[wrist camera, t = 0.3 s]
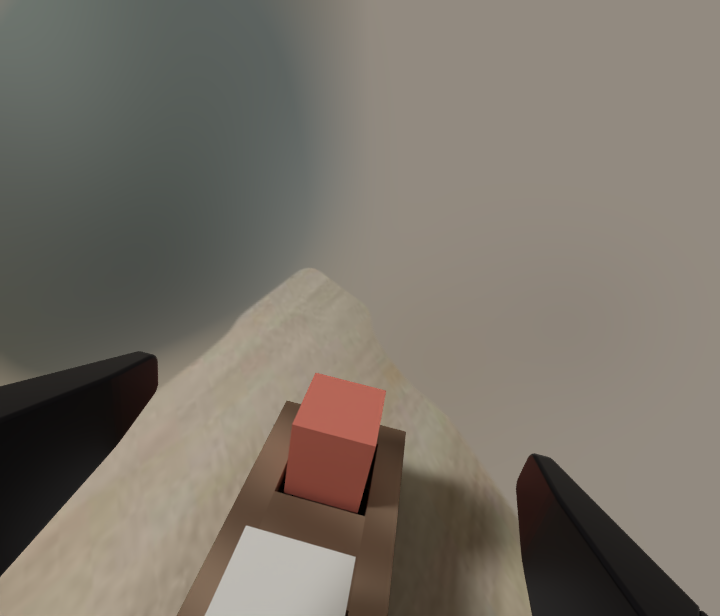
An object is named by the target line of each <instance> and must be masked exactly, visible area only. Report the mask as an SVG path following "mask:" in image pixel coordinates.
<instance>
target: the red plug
mask: <svg viewBox="0 0 720 616" xmlns="http://www.w3.org/2000/svg"><path fill="white" fill-rule="evenodd" d="M385 394H386V391H385V390H381V389H377V388H373V387H369V386H365V385H361V384H358V383H354V382H350V381H346V380H342V379H338V378H334V377H330V376H326V375H322V374H318V373H315V375H314V378H313V380H312V382H311V384H310V386H309V389H308V391H307V393H306V395H305V397H304V399H303V402H302V404H301V406H300V408H299V410H298V413H297V415H296V417H295V419H294V421H293V424H292V429H291V438H290V446H289V454H288V462H287V471H286V479H285V487H284V493H287V494H291V495H294V496H298V497H301V498H305V499H309V500H312V501H316V502H319V503H323V504H326V505H330V506H334V507H337V508H341V509H344V510H348V511H351V512H355V513H358V510H359V506H360V503H361V499H362V495H363V492H364V488H365V484H366V481H367V477H368V473H369V470H370V466H371V463H372V459H373V455H374V452H375V448H376V443H377V438H378V432H379V427H380V421H381V416H382V410H383V405H384V399H385Z"/></svg>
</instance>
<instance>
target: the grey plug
mask: <svg viewBox="0 0 720 616" xmlns="http://www.w3.org/2000/svg"><path fill="white" fill-rule="evenodd" d="M355 558H356V557H354V556H351V555H347V554H344V553H340V552H337V551H333V550H330V549H326V548H323V547H319V546H316V545H312V544H309V543H305V542H302V541H299V540H295V539H292V538H288V537H285V536H281V535H278V534H274V533H271V532H267V531H264V530H260V529H257V528H253V527H250V526H245V529H244V531H243V533H242V535H241V537H240V540H239V542H238V544H237V546H236V548H235V550H234V553H233V555H232V557H231V559H230V561H229V564H228V566H227V568H226V570H225V572H224V575H223V577H222V579H221V581H220V583H219V586H218V588H217V590H216V592H215V594H214V596H213V599H212V601H211V603H210V605H209V607H208V610H207V612H206V614H205V616H345V613H346V608H347V602H348V597H349V591H350V586H351V580H352V575H353V569H354V564H355Z"/></svg>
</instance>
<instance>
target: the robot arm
mask: <svg viewBox="0 0 720 616" xmlns="http://www.w3.org/2000/svg"><path fill="white" fill-rule="evenodd" d="M157 386H158V361H157V358H156V356H155V355H153V354H149V353H145V352H139V351H138V352H134V353H130V354H126V355H122V356H118V357H114V358H110V359H106V360H102V361H98V362H94V363H90V364H87V365H82V366H79V367H75V368H71V369H67V370H63V371H59V372H55V373H51V374H47V375H43V376H40V377H36V378H32V379H28V380H24V381H20V382H16V383H12V384H8V385H4V386H0V576H1V575H2V574H3V573H4V572H5V571H6V570H7V569H8V567H9V566H10V565H11V564H12V563H13V562H14V561H15V560H16V558H17V557H18V556H19V555H20V554H21V553H22V552H23V551H24V549H25V548H26V547H27V546H28V545H29V544H30V543H31V542H32V540H33V539H34V538H35V537H36V536H37V535H38V534H39V533H40V531H41V530H42V529H43V528H44V527H45V526H46V525H47V524H48V522H49V521H50V520H51V519H52V518H53V517H54V516H55V515H56V513H57V512H58V511H59V510H60V509H61V508H62V507H63V506H64V504H65V503H66V502H67V501H68V500H69V499H70V498H71V497H72V495H73V494H74V493H75V492H76V491H77V490H78V489H79V488H80V486H81V485H82V484H83V483H84V482H85V481H86V480H87V479H88V477H89V476H90V475H91V474H92V473H93V472H94V471H95V470H96V468H97V467H98V466H99V465H100V464H101V463H102V462H103V460H104V459H105V458H106V457H107V456H108V455H109V454H110V453H111V451H112V450H113V449H114V448H115V447H116V445H117V444H118V443H119V442H120V440H121V439H122V438H123V436H124V435H125V434H126V432H127V431H128V430H129V428H130V427H131V425H132V424H133V423H134V421H135V420H136V418H137V417H138V416H139V414H140V413H141V412H142V410H143V409H144V407H145V406H146V405H147V403H148V402H149V401H150V399H151V398H152V396H153V395H154V394H155V392H156V390H157ZM516 494H517V507H518V520H519V532H520V545H521V555H522V562H523V568H524V574H525V579H526V585H527V590H528V595H529V601H530V606H531V612H532V616H708V615H707V614H706V613H705V612H703V611H700V609H699V606H698V605H697V604H696V603H695V602H694V601H693V600H692V599H690V597H689V596H688V595H687V594H686V593H685V592H684V591H683V590H682V589H681V588H680V587H679V586H678V585H677V584H676V583H675V582H674V581H673V580H672V579H671V578H670V577H669V576H668V575H667V574H666V573H665V572H664V571H663V570H662V569H661V568H660V567H659V566H658V565H657V564H656V563H655V562H654V561H653V560H652V559H651V558H650V557H649V556H648V555H647V554H646V553H645V552H644V551H643V550H642V549H641V548H640V547H639V546H638V545H637V544H636V543H635V542H634V541H633V540H632V539H631V538H630V537H629V536H628V535H627V534H626V533H625V532H624V531H623V530H622V529H621V528H620V527H619V526H618V525H617V524H616V523H615V522H614V521H613V520H612V519H611V518H610V517H609V516H608V515H607V514H606V513H605V512H604V511H603V510H602V509H601V508H600V507H599V506H598V505H597V504H596V503H595V502H594V501H593V500H592V499H591V498H590V497H589V496H588V495H587V494H586V493H585V492H584V491H583V490H582V489H581V488H580V487H579V486H578V485H577V484H576V483H575V482H574V481H573V480H572V479H571V478H570V477H569V476H568V475H567V474H566V473H565V472H564V470H563V469H562V468H560V466H559V465H558V464H557V463H556V462H554V460H552V459H551V458H549V457H546V456H542V455H538V454H531V455H530V456H529V457H528V459H527V461H526V463H525V465H524V467H523V469H522V471H521V473H520V476H519V478H518V480H517V486H516Z"/></svg>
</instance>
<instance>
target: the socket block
mask: <svg viewBox="0 0 720 616" xmlns="http://www.w3.org/2000/svg"><path fill="white" fill-rule="evenodd" d="M300 406H301V404H298V403H294V402H290V401H286V403H285V405H284V407H283V409H282V411H281V413H280V415H279V417H278V419H277V421H276V423H275V425H274V427H273V428H272V430H271V432H270V434H269V436H268V438H267V440H266V442H265V444H264V446H263V448H262V450H261V452H260V454H259V456H258V458H257V460H256V462H255V464H254V466H253V468H252V470H251V472H250V473H249V475H248V477H247V479H246V481H245V483H244V485H243V487H242V489H241V491H240V493H239V495H238V497H237V499H236V501H235V503H234V505H233V507H232V509H231V511H230V513H229V515H228V516H227V518H226V520H225V522H224V524H223V526H222V528H221V530H220V532H219V534H218V536H217V538H216V540H215V542H214V544H213V546H212V548H211V550H210V552H209V554H208V556H207V558H206V559H205V561H204V563H203V565H202V567H201V569H200V571H199V573H198V575H197V577H196V579H195V581H194V583H193V585H192V587H191V589H190V591H189V593H188V595H187V597H186V599H185V601H184V602H183V604H182V606H181V608H180V610H179V612H178V614H177V616H205V614H206V612H207V610H208V607H209V605H210V603H211V601H212V599H213V596H214V594H215V592H216V590H217V588H218V586H219V583H220V581H221V579H222V577H223V575H224V572H225V570H226V568H227V566H228V564H229V561H230V559H231V557H232V555H233V553H234V550H235V548H236V546H237V544H238V542H239V540H240V537H241V535H242V533H243V531H244V529H245V526H250V527H253V528H257V529H260V530H264V531H267V532H271V533H274V534H278V535H281V536H285V537H288V538H292V539H295V540H299V541H302V542H305V543H309V544H312V545H316V546H319V547H323V548H326V549H330V550H333V551H337V552H340V553H344V554H347V555H351V556H354V557H356V558H355V564H354V569H353V575H352V580H351V586H350V591H349V597H348V602H347V608H346V613H345V616H388V607H389V597H390V587H391V577H392V567H393V557H394V546H395V536H396V526H397V516H398V506H399V496H400V486H401V476H402V466H403V456H404V446H405V435H406V432H405V431H401V430H397V429H393V428H389V427H386V426H382V425H380V427H379V432H378V438H377V443H376V448H375V452H374V455H373V459H372V463H371V466H370V470H369V473H368V477H367V481H366V484H365V488H366V489H369V493H368V498H367V504H366V509H365V515H364V516H362V515H358V514H355V513H351V512H347V511H344V510H340V509H337V508H333V507H330V506H326V505H322V504H319V503H315V502H312V501H308V500H305V499H301V498H297V497H294V496H290V495H287V494H283V493H280V490H281V488H282V485H283V483H284V481H285V478H286V471H287V462H288V454H289V446H290V438H291V429H292V424H293V421H294V419H295V417H296V415H297V413H298V410H299V408H300Z"/></svg>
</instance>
